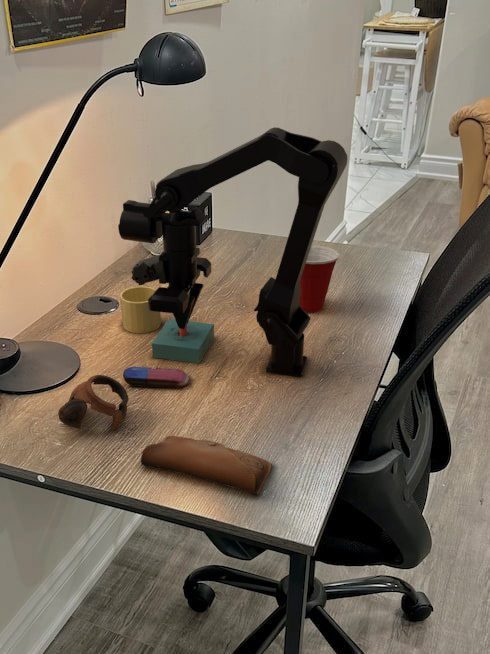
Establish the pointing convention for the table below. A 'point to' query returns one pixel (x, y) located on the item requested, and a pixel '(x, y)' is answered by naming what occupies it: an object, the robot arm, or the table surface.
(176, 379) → the eraser
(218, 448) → the sunglasses case
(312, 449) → the table surface
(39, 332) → the table surface
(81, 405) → the brown curved ring piece
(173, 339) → the block
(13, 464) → the table surface
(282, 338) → the robot arm
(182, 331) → the red rod
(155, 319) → the tumbler
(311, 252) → the plastic cup
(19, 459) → the table surface
